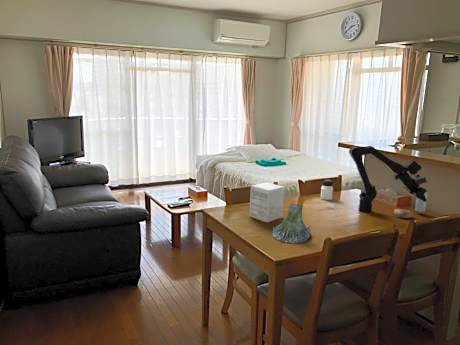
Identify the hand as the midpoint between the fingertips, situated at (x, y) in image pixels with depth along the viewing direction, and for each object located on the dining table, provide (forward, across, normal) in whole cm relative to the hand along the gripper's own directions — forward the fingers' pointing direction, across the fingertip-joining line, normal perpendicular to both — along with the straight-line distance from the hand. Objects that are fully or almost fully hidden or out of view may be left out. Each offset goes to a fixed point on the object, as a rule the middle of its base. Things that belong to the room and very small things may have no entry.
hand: (423, 199), depth 215 cm
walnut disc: (-4, -7, +16) cm, 18 cm away
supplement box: (-58, -23, +71) cm, 94 cm away
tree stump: (-49, -48, +62) cm, 93 cm away
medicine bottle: (-30, +23, +43) cm, 57 cm away
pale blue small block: (+4, 0, +6) cm, 7 cm away
